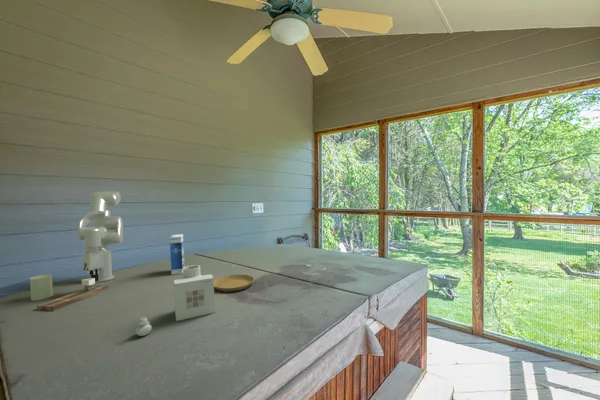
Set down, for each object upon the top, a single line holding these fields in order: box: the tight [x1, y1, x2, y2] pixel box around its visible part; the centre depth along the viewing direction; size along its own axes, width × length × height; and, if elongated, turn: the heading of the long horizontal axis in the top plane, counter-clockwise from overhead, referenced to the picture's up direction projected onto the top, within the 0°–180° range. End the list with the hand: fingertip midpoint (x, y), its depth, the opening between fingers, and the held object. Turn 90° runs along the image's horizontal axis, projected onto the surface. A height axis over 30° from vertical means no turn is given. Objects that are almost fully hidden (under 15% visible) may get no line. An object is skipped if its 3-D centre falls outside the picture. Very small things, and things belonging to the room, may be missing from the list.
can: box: [29, 273, 54, 301], centre depth 153 cm, size 9×9×12 cm
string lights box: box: [169, 233, 186, 275], centre depth 196 cm, size 13×8×26 cm, turn 17°
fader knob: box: [81, 277, 96, 290], centre depth 157 cm, size 5×4×6 cm
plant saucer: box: [213, 273, 255, 293], centre depth 164 cm, size 24×24×3 cm
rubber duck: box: [135, 315, 153, 337], centre depth 109 cm, size 5×7×8 cm
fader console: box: [36, 284, 109, 312], centre depth 150 cm, size 10×30×2 cm, turn 168°
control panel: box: [173, 264, 216, 322], centre depth 131 cm, size 16×19×20 cm
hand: (95, 281), depth 160 cm, fingers closed
